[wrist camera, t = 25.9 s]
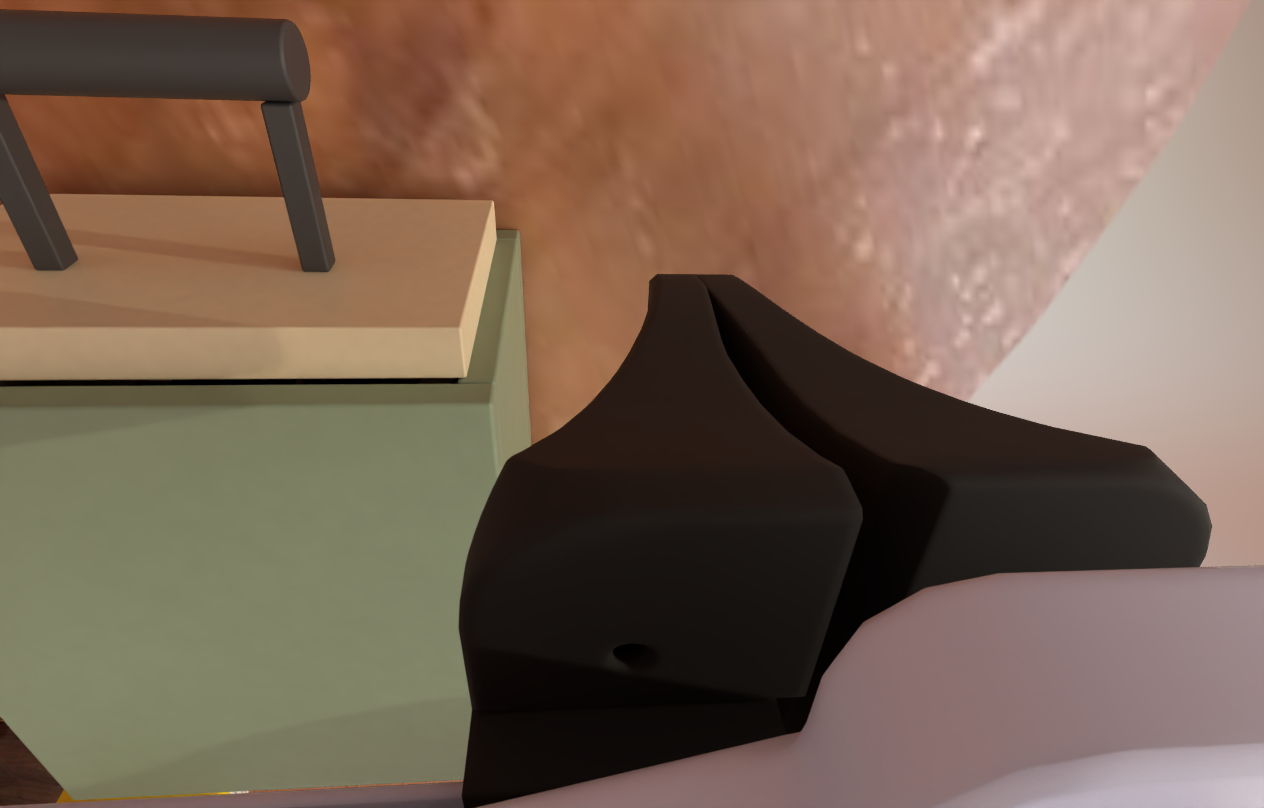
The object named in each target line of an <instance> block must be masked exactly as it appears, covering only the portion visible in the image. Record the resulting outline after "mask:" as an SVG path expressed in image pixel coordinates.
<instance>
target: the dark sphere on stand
mask: <svg viewBox="0 0 1264 808" xmlns="http://www.w3.org/2000/svg"><path fill="white" fill-rule="evenodd" d="M63 790H64V789H63V788H62V787H61V785H60V784H59V783H58V782H57V781H56V780H55V779H54V777H53V776H52V775H51V774H50V773H49V772H48V771H47V769H46V768H45V767H44V766H43V765H42V764H41V763H40V762H39V760H38V759H37V758H36V757H35V756H34V755H33V754H32V752H31V751H30V750H29V749H28V748H27V747H26V746H25V744H24V743H23V742H22V741H21V740H20V739H19V738H18V737H17V735H16V734H15V733H14V732H13V731H12V730H11V729H10V727H9V726H8V725H7V724H6V723H0V806H10V805H29V804H48V803H56V802H57V801H58V799H59V797H60V795H61V794H62V792H63Z"/></svg>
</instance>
